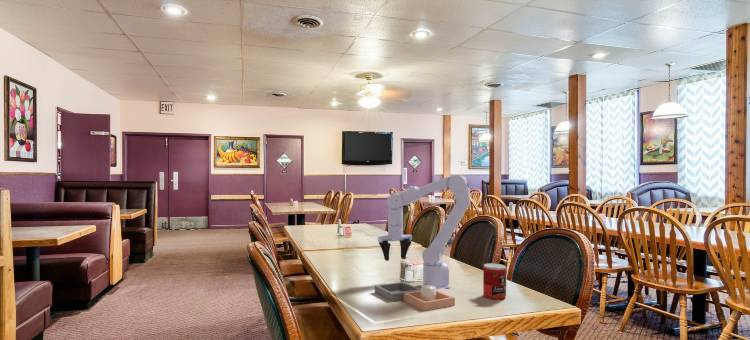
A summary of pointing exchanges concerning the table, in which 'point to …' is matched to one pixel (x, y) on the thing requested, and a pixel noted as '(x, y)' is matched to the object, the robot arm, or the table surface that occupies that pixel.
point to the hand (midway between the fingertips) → (395, 259)
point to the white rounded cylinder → (428, 292)
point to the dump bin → (440, 301)
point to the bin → (394, 290)
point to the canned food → (494, 281)
